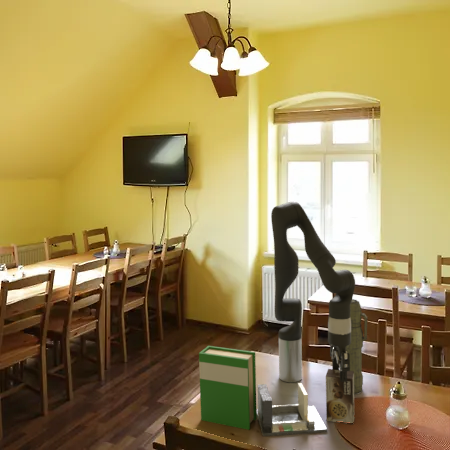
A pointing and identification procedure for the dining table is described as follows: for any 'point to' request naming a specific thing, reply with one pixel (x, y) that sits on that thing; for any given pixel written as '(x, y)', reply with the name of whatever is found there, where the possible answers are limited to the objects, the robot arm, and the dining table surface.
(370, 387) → the dining table surface
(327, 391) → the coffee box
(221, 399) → the hardback book
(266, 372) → the dining table surface
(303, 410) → the paddle
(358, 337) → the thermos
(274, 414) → the gauge frame
